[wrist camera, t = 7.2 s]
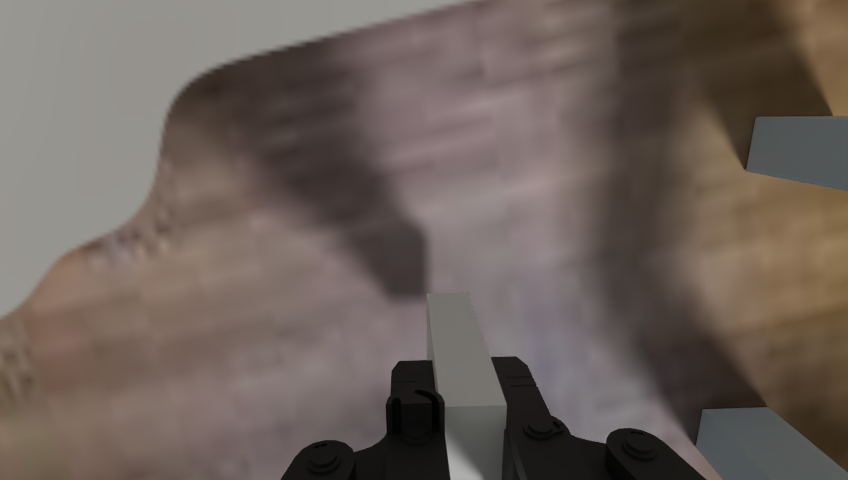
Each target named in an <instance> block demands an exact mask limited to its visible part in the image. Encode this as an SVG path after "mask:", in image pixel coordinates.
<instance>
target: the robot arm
mask: <svg viewBox="0 0 848 480" xmlns="http://www.w3.org/2000/svg"><path fill="white" fill-rule="evenodd" d="M386 422H387V434H386V435H385V437H384V438H383V439H382V440H381V441H380V442H378V443H377V444H375V445H373V446H372V447H369V448H366V449H364V450H360V451H357V452H353V449H352V448H351V447H349V446H348V445H347V444H346V443H343V442H339V441H336V440H324V441H320V442H316V443H313V444H311V445H309V446H307V447H306V448H304V449H302V450H301V451H300V452H299V454H298V455H297V456H296V457H295V458H294V460H293V461H292V463H291V464H290V466H289V467H288V469H287V471H286V472H285V474H284V475H283V477H282V478H281V480H706V479H705V478H704V477H703V476H702V475H700V474H699V473H698V472H697V471H696V470H695V469H694V468H693V467H691V466H690V465H689V464H688V463H687V462H686V461H685V460H684V459H682V458H681V457H680V456H679V455H678V454H677V453H676V452H675V451H673V450H672V449H671V448H670V447H669V446H668V445H667V444H665V443H664V442H663V441H662V440H660V439H659V438H657V437H656V436H654V435H652V434H650V433H647V432H645V431H642V430H637V429H632V428H624V429H617V430H615V431H613V432H611V433H610V434H609V436H608V437H607V441H606V444H605V443H599V442H594V441H589V440H585V439H581V438H577V437H575V436H573V435H571V434H570V432H569V430H568V428H567V427H566V426H565V424H564V423H563V422H562V421H560V420H559V419H557V418H556V417H554V416H551V415H550V413H549V410H548V408H547V406H546V404H545V402H544V400H543V398H542V396H541V394H540V391H539V389H538V387H536V383H535V381H534V379H533V378H532V375H531V372H530V370H529V368H528V366H527V365H526V364H525V363H524V362H522V361H521V360H520V359H519V358H517V357H490V354H489V351H488V348H487V345H486V342H485V340H484V337H483V334H482V331H481V328H480V325H479V322H478V319H477V316H476V313H475V310H474V307H473V305H472V302H471V299H470V296H469V293H427V360H420V361H399V362H398V363H397V365H396V366H395V367H394V368H393V370H392V376H391V396H390V397H389V398H388V400H387V403H386Z"/></svg>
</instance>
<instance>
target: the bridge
mask: <svg viewBox="0 0 848 480" xmlns="http://www.w3.org/2000/svg"><path fill="white" fill-rule="evenodd" d="M746 171H747V172H752V173H758V174H763V175H768V176H773V177H778V178H783V179H789V180H794V181H799V182H804V183H809V184H815V185H820V186H825V187H830V188H835V189H841V190H846V191H848V116H784V117H756V119H755V124H754V130H753V135H752V141H751V146H750V151H749V157H748V162H747V168H746ZM696 448H697V449H698V451H699V452H700V453H701V454H702V455H703V456H704V458H705V459H706V460H707V461H708V462H709V463H710V465H711V466H712V467H713V468H714V469H715V471H716V472H717V473H718V474H719V475H720V476H721V478H722V479H723V480H848V472H846V471H845V470H844V469H843V468H842V467H840V466H839V465H838V464H837V463H835V462H834V461H833V460H832V459H831V458H829V457H828V456H827V455H826V454H825V453H823V452H822V451H821V450H820V449H819V448H817V447H816V446H815V445H814V444H813V443H811V442H810V441H809V440H808V439H807V438H805V437H804V436H803V435H802V434H800V433H799V432H798V431H797V430H796V429H794V428H793V427H792V426H791V425H790V424H788V423H787V422H786V421H785V420H784V419H782V418H781V417H780V416H779V415H778V414H776V413H775V412H774V411H773V410H771V409H770V408H769V407H756V408H726V409H703V410H702V415H701V421H700V426H699V432H698V437H697V443H696Z"/></svg>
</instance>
